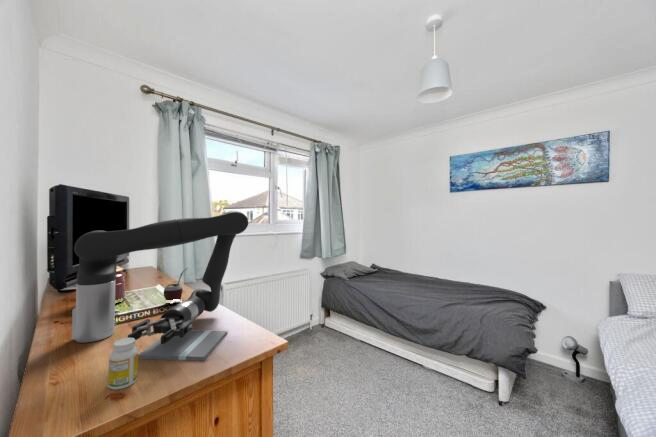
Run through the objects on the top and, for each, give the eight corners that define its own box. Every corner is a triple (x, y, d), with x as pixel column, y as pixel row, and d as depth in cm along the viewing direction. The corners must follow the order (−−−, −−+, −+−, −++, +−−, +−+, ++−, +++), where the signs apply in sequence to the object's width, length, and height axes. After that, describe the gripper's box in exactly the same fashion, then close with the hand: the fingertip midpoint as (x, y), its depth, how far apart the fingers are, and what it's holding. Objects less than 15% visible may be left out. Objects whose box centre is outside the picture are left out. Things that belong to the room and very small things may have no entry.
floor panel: (137, 358, 71) (137, 355, 71) (172, 332, 87) (172, 329, 87) (204, 360, 71) (204, 356, 71) (227, 334, 87) (227, 330, 87)
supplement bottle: (117, 393, 57) (118, 349, 57) (102, 386, 59) (103, 344, 59) (143, 379, 62) (143, 338, 62) (128, 373, 64) (129, 334, 64)
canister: (122, 296, 122) (123, 258, 122) (127, 303, 113) (128, 262, 113) (84, 302, 113) (85, 261, 112) (86, 310, 103) (87, 266, 103)
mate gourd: (159, 306, 111) (160, 270, 111) (170, 300, 119) (171, 267, 119) (177, 306, 111) (178, 271, 111) (187, 300, 119) (188, 267, 119)
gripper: (158, 304, 84) (118, 324, 68) (203, 305, 84) (173, 326, 68) (158, 327, 84) (117, 353, 68) (202, 328, 84) (172, 355, 68)
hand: (145, 340), depth 68 cm, fingers open, 8 cm apart
